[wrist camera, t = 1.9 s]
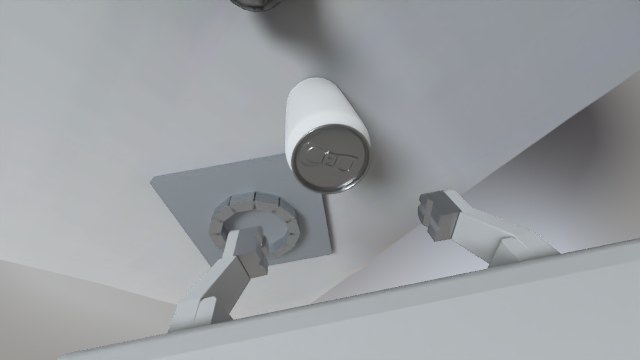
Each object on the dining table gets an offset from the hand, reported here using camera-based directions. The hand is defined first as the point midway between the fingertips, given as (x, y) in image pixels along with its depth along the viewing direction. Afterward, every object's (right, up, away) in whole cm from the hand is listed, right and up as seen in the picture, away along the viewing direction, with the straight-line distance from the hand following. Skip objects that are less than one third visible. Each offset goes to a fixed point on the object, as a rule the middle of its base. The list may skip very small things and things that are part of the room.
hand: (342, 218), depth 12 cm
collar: (-10, -5, +22) cm, 24 cm away
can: (-2, +10, +14) cm, 17 cm away
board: (-10, -4, +23) cm, 25 cm away
